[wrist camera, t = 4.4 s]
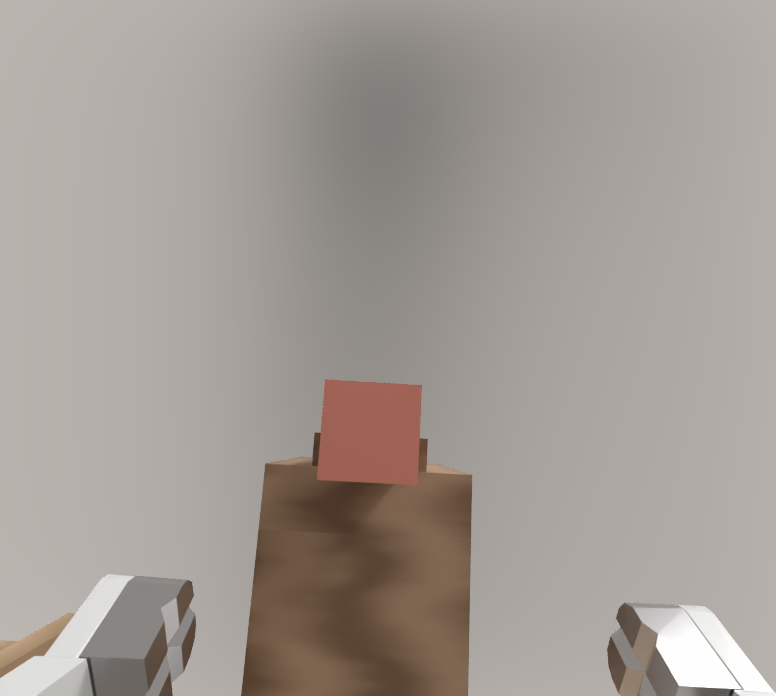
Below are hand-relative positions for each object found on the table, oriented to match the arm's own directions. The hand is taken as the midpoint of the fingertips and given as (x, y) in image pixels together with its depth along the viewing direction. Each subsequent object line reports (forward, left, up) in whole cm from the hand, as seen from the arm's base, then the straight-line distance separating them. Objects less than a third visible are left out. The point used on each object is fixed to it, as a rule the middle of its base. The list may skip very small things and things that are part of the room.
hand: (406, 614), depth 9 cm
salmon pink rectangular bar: (-1, +16, +2) cm, 16 cm away
